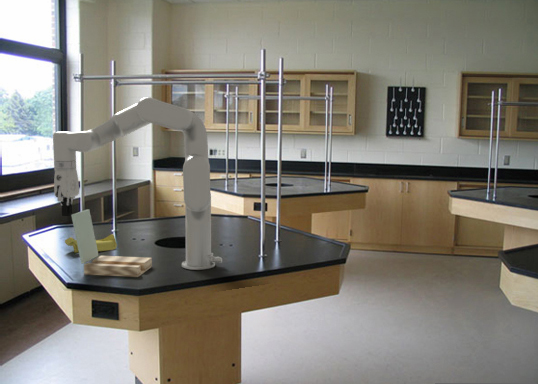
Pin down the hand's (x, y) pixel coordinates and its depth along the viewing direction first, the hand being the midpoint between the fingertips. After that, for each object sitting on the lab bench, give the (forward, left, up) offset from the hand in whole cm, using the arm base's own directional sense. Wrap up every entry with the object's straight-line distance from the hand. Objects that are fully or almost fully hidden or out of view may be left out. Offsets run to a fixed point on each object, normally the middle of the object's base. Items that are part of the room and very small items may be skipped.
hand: (67, 215), depth 199 cm
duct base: (-19, 0, -20) cm, 28 cm away
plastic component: (+6, -29, -20) cm, 36 cm away
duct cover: (-7, 0, -7) cm, 10 cm away
